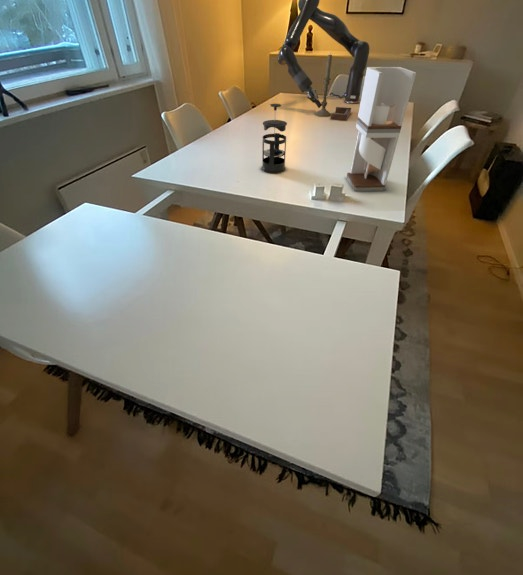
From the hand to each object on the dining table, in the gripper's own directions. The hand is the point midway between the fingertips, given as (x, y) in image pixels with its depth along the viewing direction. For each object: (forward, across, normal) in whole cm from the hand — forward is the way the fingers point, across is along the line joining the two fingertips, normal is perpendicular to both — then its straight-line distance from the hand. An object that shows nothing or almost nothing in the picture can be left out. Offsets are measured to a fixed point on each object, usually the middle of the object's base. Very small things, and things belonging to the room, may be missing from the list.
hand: (320, 106), depth 190 cm
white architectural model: (+29, +94, +23) cm, 101 cm away
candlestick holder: (+4, 0, -2) cm, 5 cm away
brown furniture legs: (+12, 0, +6) cm, 13 cm away
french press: (+4, +91, -2) cm, 92 cm away
